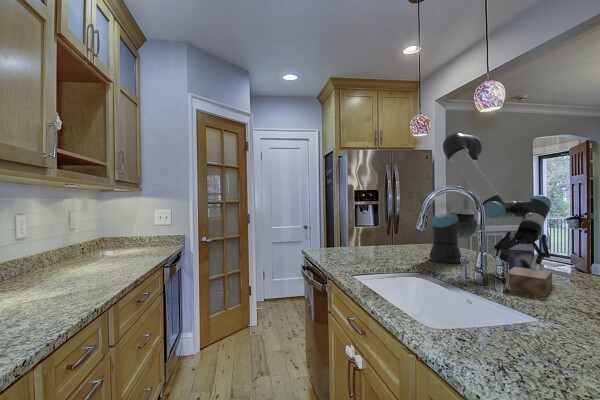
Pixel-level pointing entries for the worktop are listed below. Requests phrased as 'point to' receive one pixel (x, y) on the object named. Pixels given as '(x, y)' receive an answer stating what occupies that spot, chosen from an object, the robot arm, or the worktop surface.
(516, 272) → the walnut plinth
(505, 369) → the worktop surface
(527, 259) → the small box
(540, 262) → the robot arm
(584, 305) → the worktop surface
